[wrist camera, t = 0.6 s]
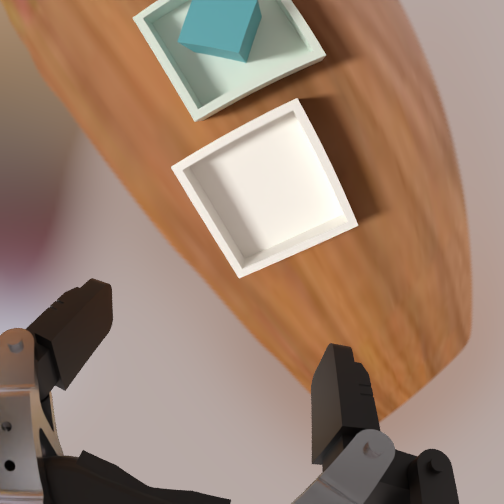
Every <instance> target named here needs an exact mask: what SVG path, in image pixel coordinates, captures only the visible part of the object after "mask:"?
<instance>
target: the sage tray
mask: <svg viewBox="0 0 504 504" xmlns="http://www.w3.org/2000/svg"><path fill="white" fill-rule="evenodd" d="M191 1H192V0H158V1H156V2H155V3H153V4H152V5H150V6H149V7H147V8H146V9H144V10H143V11H142V12H140V13H139V14H137V15H136V16H134V17H133V19H134V21H135V23H136V24H137V26H138V27H139V29H140V31H141V32H142V34H143V36H144V37H145V39H146V41H147V42H148V44H149V46H150V47H151V49H152V51H153V52H154V54H155V56H156V57H157V59H158V61H159V62H160V64H161V65H162V67H163V69H164V70H165V72H166V74H167V76H168V77H169V79H170V81H171V82H172V84H173V86H174V87H175V89H176V91H177V92H178V94H179V96H180V97H181V99H182V101H183V102H184V104H185V106H186V107H187V109H188V111H189V113H190V114H191V116H192V118H193V119H194V121H203V120H205V119H207V118H208V117H210V116H212V115H214V114H215V113H217V112H219V111H221V110H222V109H224V108H226V107H228V106H229V105H231V104H233V103H235V102H237V101H239V100H240V99H242V98H244V97H246V96H248V95H250V94H252V93H254V92H256V91H258V90H260V89H262V88H264V87H266V86H268V85H270V84H272V83H274V82H276V81H278V80H280V79H282V78H284V77H286V76H288V75H291V74H293V73H295V72H297V71H299V70H302V69H304V68H306V67H308V66H311V65H313V64H315V63H318V62H320V61H322V60H323V59H324V57H325V56H326V54H325V52H324V50H323V49H322V47H321V45H320V44H319V42H318V40H317V39H316V37H315V36H314V34H313V32H312V31H311V29H310V28H309V26H308V25H307V23H306V22H305V20H304V18H303V17H302V15H301V14H300V12H299V11H298V10H297V8H296V7H295V5H294V4H293V2H292V1H291V0H258V3H259V7H260V11H261V15H262V18H261V21H260V24H259V26H258V29H257V32H256V35H255V38H254V41H253V44H252V47H251V50H250V53H249V56H248V59H247V62H246V63H244V62H240V61H236V60H231V59H226V58H222V57H217V56H212V55H206V54H201V53H195V52H193V51H191V50H190V49H188V48H187V47H185V46H183V45H182V44H180V43H178V42H177V41H178V38H179V35H180V32H181V29H182V26H183V24H184V21H185V18H186V15H187V12H188V9H189V7H190V4H191Z"/></svg>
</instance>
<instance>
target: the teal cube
mask: <svg viewBox="0 0 504 504" xmlns="http://www.w3.org/2000/svg"><path fill="white" fill-rule="evenodd" d="M261 18H262V15H261V11H260V7H259V3H258V0H192V1H191V4H190V7H189V9H188V12H187V15H186V18H185V21H184V24H183V26H182V29H181V32H180V35H179V38H178V41H177V42H178V43H180V44H182V45H183V46H185V47H187V48H188V49H190V50H191V51H193V52H195V53H201V54H206V55H212V56H217V57H222V58H226V59H231V60H236V61H240V62H244V63H246V62H247V59H248V56H249V53H250V50H251V47H252V44H253V41H254V38H255V35H256V32H257V29H258V26H259V24H260V21H261Z"/></svg>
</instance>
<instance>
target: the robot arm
mask: <svg viewBox="0 0 504 504" xmlns="http://www.w3.org/2000/svg"><path fill="white" fill-rule="evenodd" d="M112 321H113V310H112V288H111V285H110V284H108V283H104V282H102V281H99V280H96V279H93V278H92V279H90V280H89V281H88V282H86V283H85V284H84V285H83V286H82V287H81V288H78V287H76V288H74V289H71V290H69V291H67V292H65V293H64V294H63V295H62V296H61V297H60V298H58V299H57V302H56V301H55V302H54V303H53V304H52V305H51V306H50V308H48V309H46V311H44V312H43V313H42V314H41V315H40V316H39V317H38V318H37V319H36V320H35V321H34V322H33V323H32V324H31V325H30V326H29V327H27V329H22V328H14V329H10V330H7V331H5V332H4V333H3V334H1V335H0V504H230V502H231V500H229V499H224V498H220V497H215V496H211V495H206V494H202V493H199V492H194V491H185V490H171V489H160V488H153V487H149V486H147V485H145V484H144V483H142V482H140V481H139V480H137V479H136V478H134V477H133V476H131V475H130V474H128V473H126V472H125V471H124V470H122V469H121V468H119V467H118V466H116V465H114V464H112V463H110V462H108V461H105V460H103V459H101V458H99V457H96V456H94V455H92V454H90V453H88V452H86V451H84V450H83V451H82V453H81V455H80V456H79V457H73V456H64V454H63V451H62V448H61V445H60V442H59V439H58V435H57V429H56V422H55V415H54V409H53V399H52V393H51V390H52V389H53V387H54V386H57V387H59V388H61V389H63V390H66V389H67V388H68V386H69V385H70V384H71V382H72V381H73V379H74V378H75V377H76V375H77V374H78V373H79V371H80V370H81V368H82V367H83V366H84V364H85V363H86V361H87V360H88V359H89V357H90V356H91V355H92V353H93V352H94V351H95V350H96V348H97V347H98V345H99V344H100V343H101V342H102V340H103V339H104V338H105V336H106V335H107V334H108V333H109V331H110V329H111V325H112ZM311 401H312V402H311V404H312V464H320V465H323V473H321V475H319V477H318V478H317V479H316V480H315V481H314V482H313V483H312V484H311V485H310V486H309V487H308V488H307V489H306V490H305V491H304V492H303V493H302V494H301V495H300V496H299V497H298V498H297V499H295V500H294V501H293V502H292V503H291V504H459V500H458V494H457V489H456V484H455V479H454V474H453V469H452V465H451V462H450V460H449V458H448V457H447V456H446V455H445V454H444V453H443V452H441V451H439V450H436V449H428V450H425V451H423V452H422V453H421V454H420V455H419V456H418V457H417V456H414V455H411V454H407V453H404V452H401V451H398V450H396V449H395V447H394V444H393V442H392V441H391V439H390V438H389V437H388V436H387V435H386V434H384V433H382V432H381V431H380V427H379V421H378V416H377V411H376V406H375V401H374V397H373V392H372V388H371V383H370V378H369V374H368V372H367V371H366V370H365V368H364V367H363V365H362V364H361V363H357V362H354V357H353V352H352V349H351V347H348V346H343V345H337V344H332V343H330V344H329V345H328V347H327V349H326V351H325V353H324V355H323V357H322V359H321V361H320V363H319V365H318V367H317V369H316V371H315V374H314V376H313V380H312V385H311Z"/></svg>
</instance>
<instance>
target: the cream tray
mask: <svg viewBox="0 0 504 504" xmlns="http://www.w3.org/2000/svg"><path fill="white" fill-rule="evenodd" d="M171 168H172V170H173V171H174V173H175V175H176V176H177V178H178V180H179V181H180V183H181V185H182V186H183V188H184V190H185V191H186V193H187V195H188V196H189V198H190V200H191V201H192V203H193V205H194V206H195V208H196V210H197V211H198V213H199V214H200V216H201V218H202V219H203V221H204V223H205V224H206V226H207V228H208V229H209V231H210V232H211V234H212V236H213V237H214V239H215V241H216V242H217V244H218V245H219V247H220V249H221V250H222V252H223V253H224V255H225V257H226V258H227V260H228V261H229V263H230V265H231V266H232V268H233V269H234V271H235V273H236V274H237V276H238V277H239V278H241V277H243V276H246V275H248V274H250V273H253V272H255V271H257V270H260V269H262V268H264V267H267V266H269V265H271V264H273V263H276V262H278V261H280V260H283V259H285V258H287V257H289V256H292V255H294V254H296V253H298V252H301V251H303V250H305V249H307V248H310V247H312V246H314V245H316V244H319V243H321V242H323V241H325V240H328V239H330V238H332V237H334V236H337V235H339V234H341V233H343V232H346V231H348V230H350V229H352V228H354V227H357V226H358V223H357V221H356V219H355V216H354V214H353V212H352V209H351V207H350V204H349V202H348V200H347V198H346V195H345V193H344V191H343V189H342V186H341V184H340V182H339V180H338V178H337V175H336V173H335V171H334V169H333V167H332V165H331V163H330V161H329V158H328V156H327V154H326V152H325V150H324V148H323V146H322V144H321V142H320V140H319V138H318V136H317V134H316V132H315V130H314V128H313V126H312V124H311V123H310V121H309V119H308V117H307V115H306V113H305V111H304V109H303V108H302V106H301V104H300V102H299V100H298V98H296V99H294V100H292V101H290V102H288V103H286V104H284V105H282V106H280V107H278V108H275V109H273V110H271V111H269V112H267V113H265V114H264V115H262V116H260V117H258V118H256V119H254V120H252V121H250V122H248V123H246V124H244V125H242V126H241V127H239V128H237V129H235V130H233V131H231V132H230V133H228V134H226V135H224V136H222V137H221V138H219V139H217V140H215V141H214V142H212V143H210V144H208V145H207V146H205V147H203V148H201V149H200V150H198V151H196V152H195V153H193V154H191V155H190V156H188V157H186V158H185V159H183V160H182V161H180V162H178V163H177V164H175V165H173V166H172V167H171Z"/></svg>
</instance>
